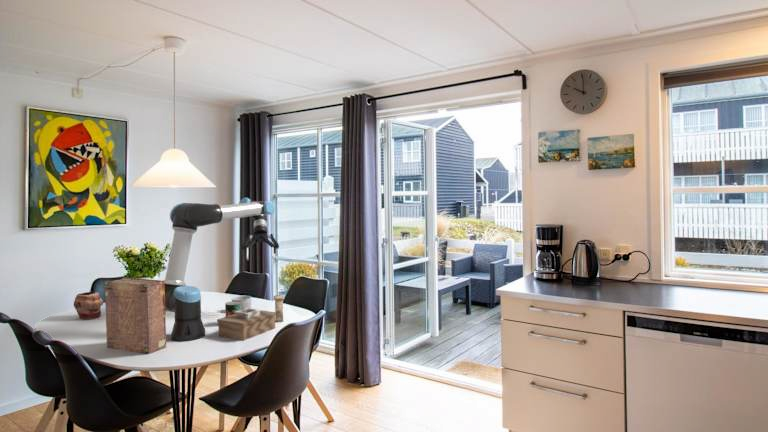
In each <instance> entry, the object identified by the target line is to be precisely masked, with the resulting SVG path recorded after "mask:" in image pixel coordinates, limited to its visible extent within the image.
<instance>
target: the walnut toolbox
mask: <svg viewBox="0 0 768 432" xmlns="http://www.w3.org/2000/svg"><path fill="white" fill-rule="evenodd" d="M275 315H276V312H275V311H269V310H261V309H257V308H245V309H242V310H239V311H236V312H235V314H233V315H230V316H227V317H226V316H224V317H220V318H218V319H216V322H217V323H218V336H219V337H223V338H228V339H233V340H240V341H246V340H249V339H251V338H254V337H257V336H258V335H262V334H264V333H267V332H270V331H272V330H273V329H276V319H275Z"/></svg>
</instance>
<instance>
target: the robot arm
mask: <svg viewBox="0 0 768 432" xmlns="http://www.w3.org/2000/svg"><path fill="white" fill-rule="evenodd" d="M275 210H276V205H275V203H274V202H273V201H271V200H270V201H269V200H251V199H250V198H249V197H244V198H241V199H240V201H239V202H238V203H234V204H224V205H220V204H217V203H214V204H213V203H212V204H211V203H210V204H209V203H199V202H196V203H195V202H193V203H192V202H183V203H182V202H181V203H178V204H176V205H174V206H173V207H172V209H171V210H170V212H169V213H170V214H169V219H170V221H171V223H172V227H171V228H172V230H173V231H174V232H173V238H172V243H171V249H170V254H169V257H168V258H169V259H168V263H167V268H166V273H165V277H164V278H165V279H163V280H162V281H165V312H170V313H174V323H173V327H172V331H171V332H170V333H171V334H170V339H171V340H172V341H175V342H189V341H193V340H198V339H202V338H204V336H205V335H206V329H205V326H204V324H203V320H202V309H201V308H202V306H201V305H202V295H201V290H200V288H198V287H197V286H193V285H191V286H190V285H187V283H185V277H186V271H187V265H188V262H189V261H188V260H189V257H190V250H191V245H192V240H193V235H194V234H195V233H196V232H197V231H198V227H204V226H208V225H214V224H219V223H221V222H222V221H226V220H235V219H241V218H248V217H249V218H251V219H253V234H252V235H251V234H250V233H248V234H247V237H246V238H245V240H244V242H243V243H242V244H241V250H243V251H244V255H245V256H246V261H249V249H250V248H252V247H253V245H254V244H256V243H258V244H259V243H265V244H267V245H268V246H269V247H271V249H272V253H271V254H272V255H271V256H272V258H271V259H272V260H274V258H275V254H276V253H277V249H280V244H279V243H278V242H277V240H276V238H275V237H274V236H273V235H274V234H273V233H270V234H268V215H272V214H273V213H275ZM268 238H269V239H268ZM251 239H252V240H251Z"/></svg>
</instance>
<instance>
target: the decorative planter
mask: <svg viewBox="0 0 768 432" xmlns="http://www.w3.org/2000/svg"><path fill="white" fill-rule="evenodd" d="M103 305H104V300H103V299H102V297H101V296H100V294H99V292H97V291H87V292H82V293H81V292H80V293H78V294H76V296H75V297H74V301H73V307H74V309H75V311H76V313H77V316H78V317H79V319H80V320H93V319H97V318H100V317H101V314H102V310H101V307H102V306H103Z"/></svg>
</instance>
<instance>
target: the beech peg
mask: <svg viewBox="0 0 768 432" xmlns="http://www.w3.org/2000/svg"><path fill="white" fill-rule="evenodd" d="M272 298H273V300H274V307H275V308H274V312H276V315H275V323H282V322H284V300H285V295H283V294H276V295H273V297H272Z"/></svg>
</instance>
